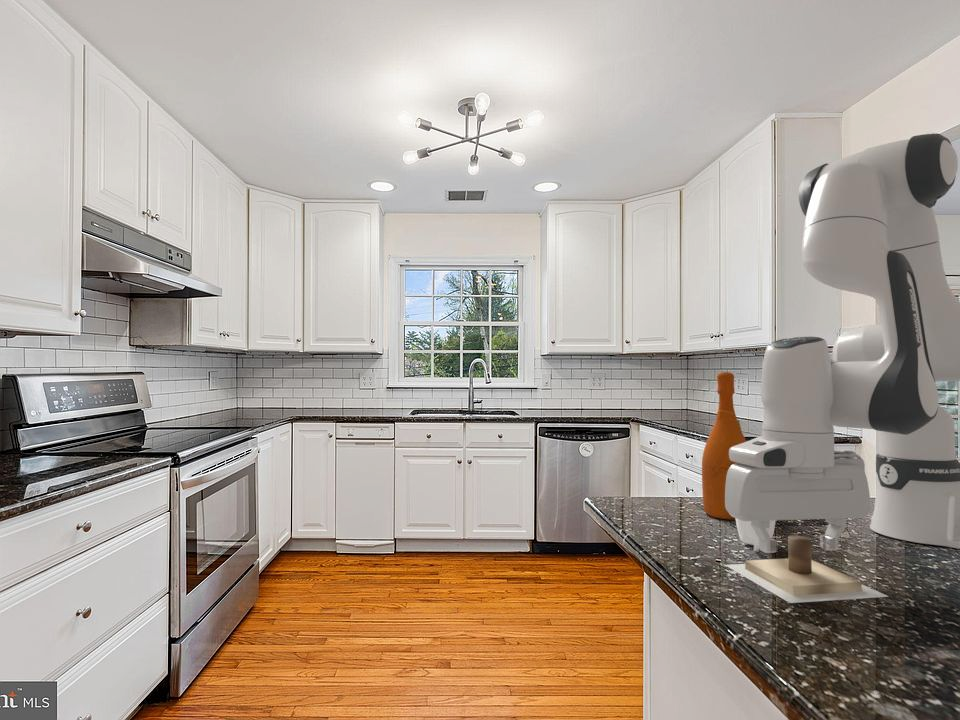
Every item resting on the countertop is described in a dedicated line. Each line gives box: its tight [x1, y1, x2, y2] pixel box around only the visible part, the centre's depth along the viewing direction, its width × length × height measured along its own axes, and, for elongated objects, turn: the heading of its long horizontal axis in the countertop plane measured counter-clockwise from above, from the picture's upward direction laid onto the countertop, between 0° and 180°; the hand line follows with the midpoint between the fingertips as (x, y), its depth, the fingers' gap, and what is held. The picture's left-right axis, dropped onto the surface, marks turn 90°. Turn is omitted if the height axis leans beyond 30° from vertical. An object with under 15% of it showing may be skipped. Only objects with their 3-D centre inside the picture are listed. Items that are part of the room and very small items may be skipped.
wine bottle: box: [701, 371, 747, 521], centre depth 114 cm, size 10×10×30 cm
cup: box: [735, 518, 777, 553], centre depth 90 cm, size 7×10×8 cm
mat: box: [724, 563, 889, 604], centre depth 76 cm, size 14×14×1 cm
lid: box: [744, 535, 863, 596], centre depth 76 cm, size 10×10×6 cm
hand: (798, 550), depth 76 cm, fingers open, 8 cm apart
